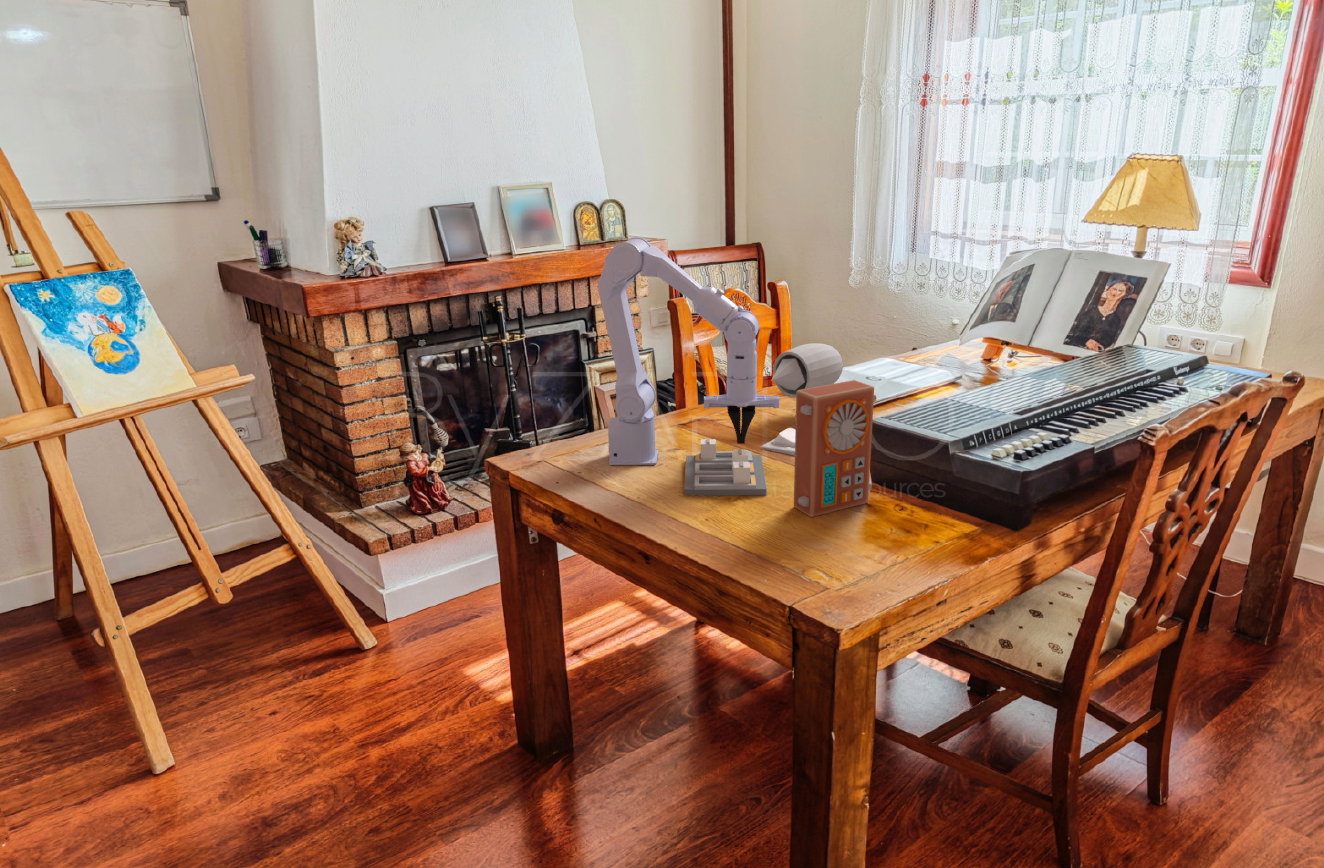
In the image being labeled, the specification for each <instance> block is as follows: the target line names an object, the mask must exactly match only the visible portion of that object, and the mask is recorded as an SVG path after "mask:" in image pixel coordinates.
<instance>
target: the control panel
mask: <svg viewBox="0 0 1324 868" xmlns="http://www.w3.org/2000/svg"><path fill="white" fill-rule="evenodd" d="M795 399H796V400H795V456H794V470H793V471H794V472H793V473H794V478H793V479H794V480H793V508H795V509H797V510H798V511H800V512H802V513H804V514H805V515H808V516H809V517H810V518H814V517H818V516H822V515H825V514H829V513H832V512H833V513H834V512H838V511H841V510H844V509H848V508H849V509H850V508H853V507H856V506H860V505H864V504H868V502H869V495H870V493H869V491H870V490H872V484H871V483H870V474H871V473H870V471H871V455H872V437H873V435H872V434H873V421H874V419H873V416H874V403H875V402H876V401H877V395H876V394H875V386H872V385H870V384H867V383H864V382H861V381H858V380H856V379H852V380H847V381H843V382H835V383H834V384H830V385H824V386H819V387H813V388H808V389H802V390H797V392H796V398H795Z"/></svg>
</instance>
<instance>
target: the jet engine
mask: <svg viewBox="0 0 1324 868" xmlns="http://www.w3.org/2000/svg"><path fill="white" fill-rule="evenodd" d="M843 368H844V364H843V359H842V356H841V354H840V353H839V351H838V350H837V349H835V347H834V346H831V345H829V344H825V343H819V342H818V343H814V342H813V343H805V344H802V345H801V344H800V345H798V346H795V347H793V348H790V349H788V350H786V351H784V352H782V353H780V354H779V355H778V356H777V357H776V358H775V361H774V363H773V368H772V375H773V377H772V379H771V380H770V381H771V382H773V383H775V385H776V387H777V388H778V390H779V391H780V392H781V394H783V395H784V396H786V397H788V398H794V399H796V392H797V390H802V389H808V388H813V387H819V386H824V385H830V384H835V383H837V381H838V380H839V379H840V377H841V375H842V373H843Z"/></svg>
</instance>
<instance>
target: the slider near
mask: <svg viewBox="0 0 1324 868" xmlns="http://www.w3.org/2000/svg"><path fill="white" fill-rule="evenodd" d="M733 484H750V462H743V461H740V462H733Z"/></svg>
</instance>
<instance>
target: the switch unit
mask: <svg viewBox="0 0 1324 868" xmlns="http://www.w3.org/2000/svg"><path fill="white" fill-rule="evenodd" d="M685 458H686V459H685V471H684V472H685V473H684V485H683V495H700V496H767V492H768V491H767V490H768V489H767V484H766V477H765V472H764V466H763V460H762V454H752V450H748V462H750V484H733V471H732V450H731V451H730V450H725V451H720V450H719V451H717V450H716V459H701V451H695V455H691V454H690V455H686V456H685Z"/></svg>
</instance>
